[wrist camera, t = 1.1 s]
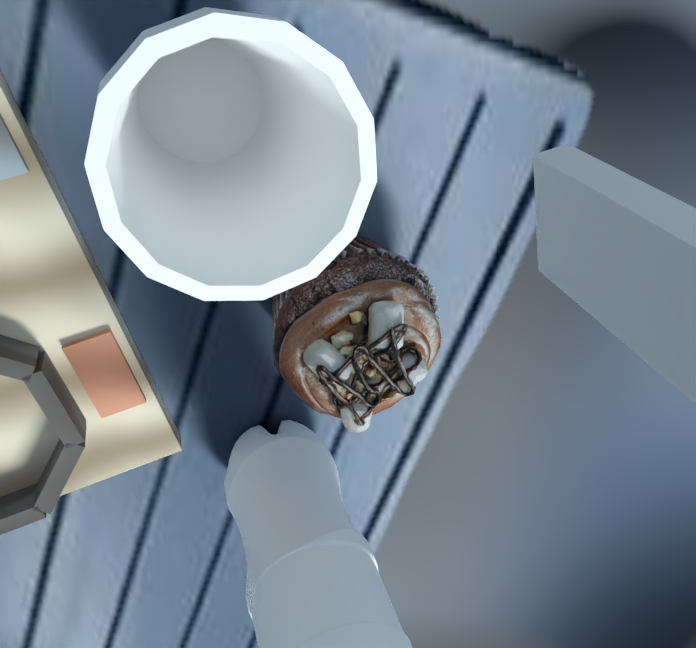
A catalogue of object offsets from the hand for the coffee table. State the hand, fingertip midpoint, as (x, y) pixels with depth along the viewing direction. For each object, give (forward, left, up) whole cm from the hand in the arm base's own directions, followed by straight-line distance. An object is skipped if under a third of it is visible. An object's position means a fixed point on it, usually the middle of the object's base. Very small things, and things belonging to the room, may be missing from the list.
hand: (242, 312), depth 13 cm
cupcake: (-13, -5, -23) cm, 27 cm away
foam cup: (0, -1, -23) cm, 23 cm away
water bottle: (-23, +2, -23) cm, 32 cm away
